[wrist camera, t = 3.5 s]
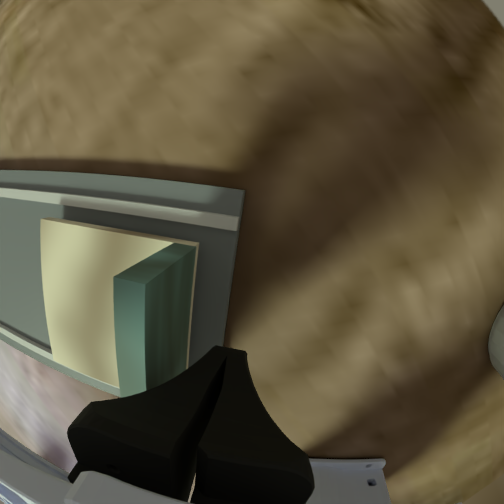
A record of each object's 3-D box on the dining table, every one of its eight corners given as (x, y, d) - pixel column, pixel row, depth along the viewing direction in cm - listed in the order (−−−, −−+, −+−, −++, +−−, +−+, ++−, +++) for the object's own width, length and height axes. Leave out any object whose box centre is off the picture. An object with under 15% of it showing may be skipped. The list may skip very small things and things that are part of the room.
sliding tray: (204, 240, 14) (145, 284, 7) (190, 392, 16) (154, 475, 9) (56, 215, 14) (-30, 234, 8) (65, 350, 16) (6, 401, 10)
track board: (245, 190, 14) (242, 190, 13) (214, 415, 17) (210, 427, 16) (-21, 169, 15) (-31, 170, 14) (-10, 326, 18) (-18, 331, 17)
